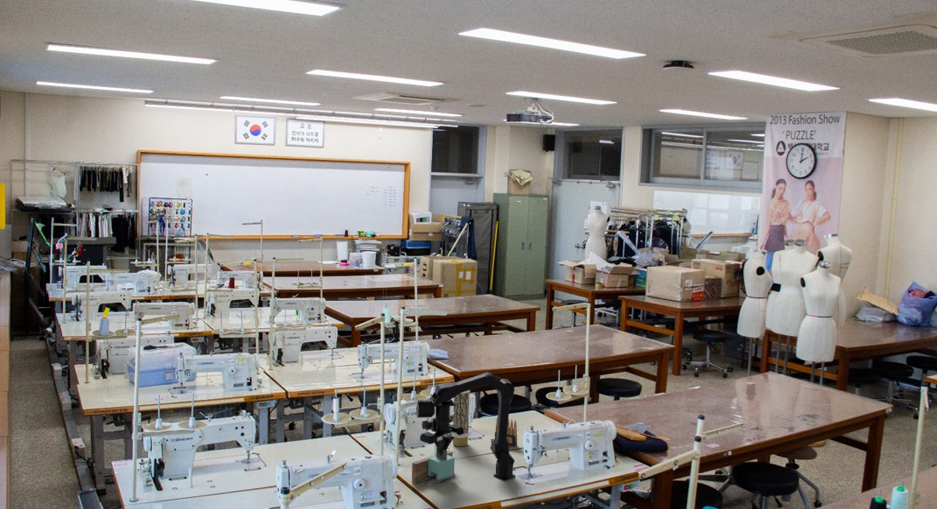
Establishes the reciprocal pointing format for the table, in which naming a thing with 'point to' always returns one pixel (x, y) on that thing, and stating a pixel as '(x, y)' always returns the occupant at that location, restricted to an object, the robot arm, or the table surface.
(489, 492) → the table surface
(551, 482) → the table surface
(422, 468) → the brown wooden beam
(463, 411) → the bark textured cylinder
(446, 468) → the teal handled box
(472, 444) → the table surface
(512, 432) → the ammunition clip
